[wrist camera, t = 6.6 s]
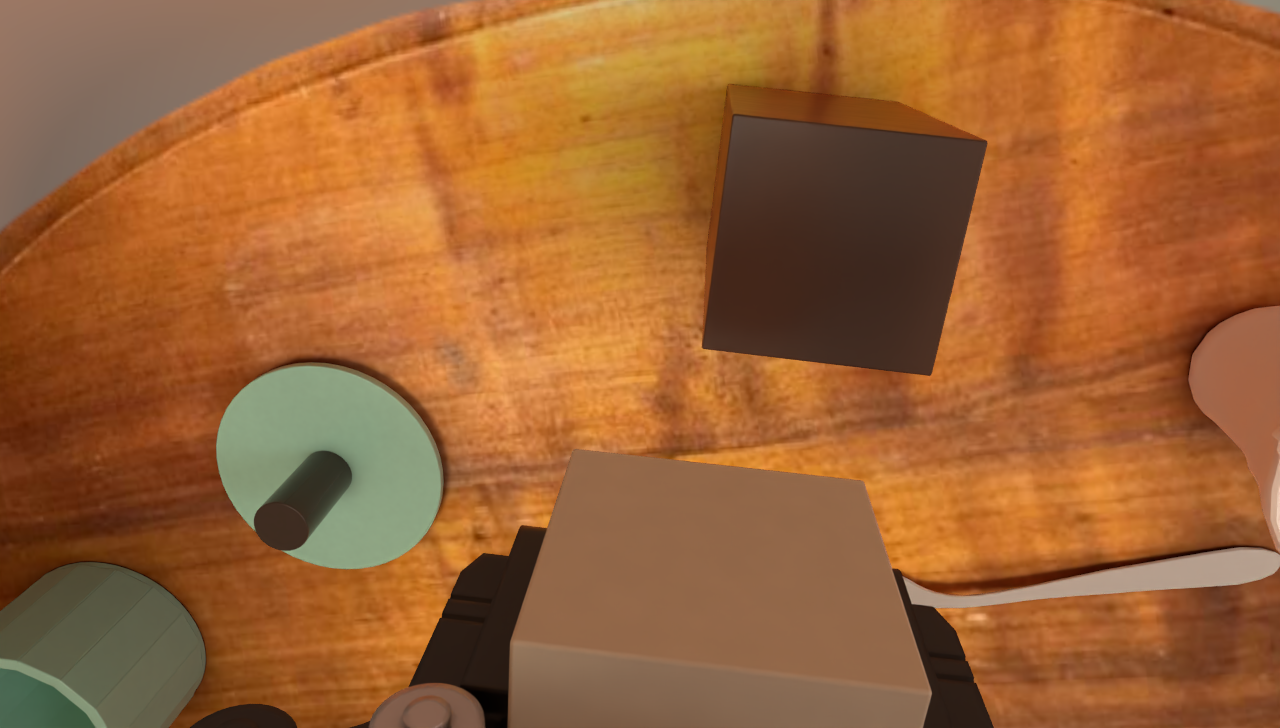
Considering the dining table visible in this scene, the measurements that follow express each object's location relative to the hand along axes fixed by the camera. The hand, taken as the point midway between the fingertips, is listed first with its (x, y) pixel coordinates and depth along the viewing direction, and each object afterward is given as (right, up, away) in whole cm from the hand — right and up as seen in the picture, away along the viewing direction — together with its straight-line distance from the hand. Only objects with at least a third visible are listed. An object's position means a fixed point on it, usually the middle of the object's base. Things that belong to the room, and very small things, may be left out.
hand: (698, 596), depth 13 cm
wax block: (0, 0, 0) cm, 0 cm away
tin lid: (-16, -1, +28) cm, 32 cm away
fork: (+17, -7, +28) cm, 34 cm away
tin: (-30, -12, +34) cm, 47 cm away
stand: (+6, +11, +22) cm, 25 cm away
